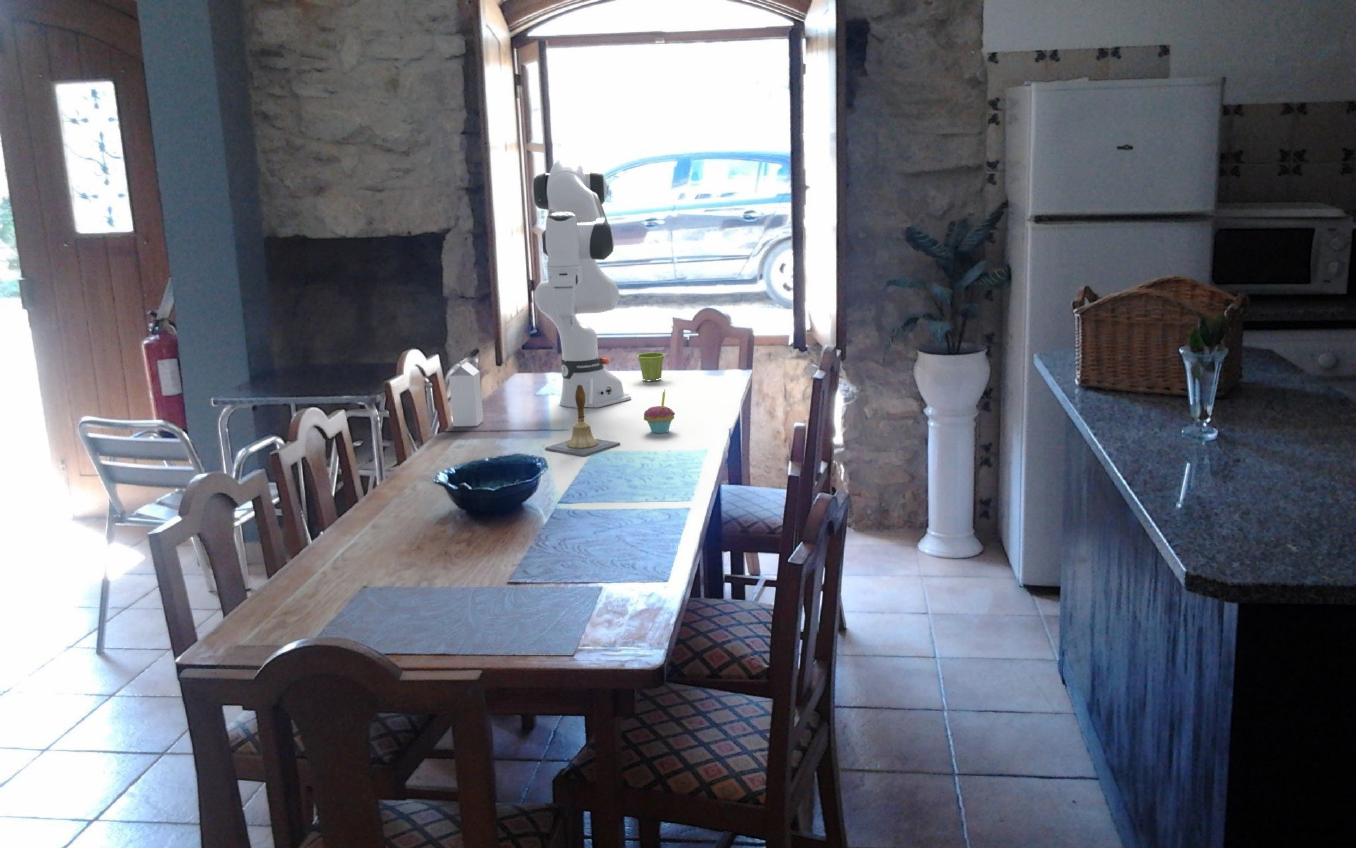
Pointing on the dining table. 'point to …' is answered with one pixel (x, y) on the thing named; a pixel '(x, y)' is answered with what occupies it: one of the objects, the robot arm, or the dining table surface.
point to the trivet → (582, 451)
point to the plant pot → (651, 365)
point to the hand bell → (581, 425)
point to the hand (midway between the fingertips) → (568, 329)
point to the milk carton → (466, 395)
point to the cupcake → (659, 417)
